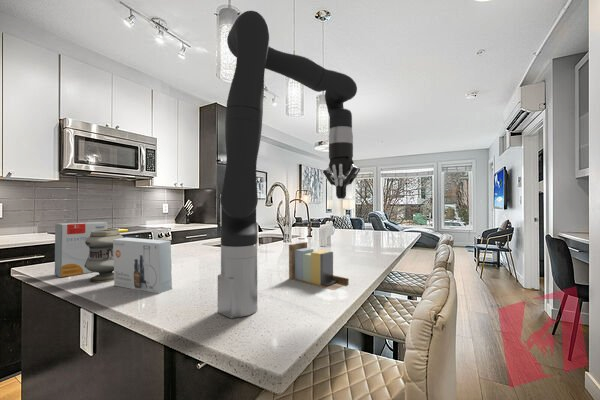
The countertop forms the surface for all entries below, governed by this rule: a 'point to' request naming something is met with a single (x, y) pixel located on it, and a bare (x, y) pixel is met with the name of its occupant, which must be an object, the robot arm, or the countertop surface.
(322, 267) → the bookend
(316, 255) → the book ochre
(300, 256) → the book slate
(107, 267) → the apothecary jar
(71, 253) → the hard drive box
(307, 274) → the book sage
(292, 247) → the book trough
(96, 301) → the countertop surface
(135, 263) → the skincare box
